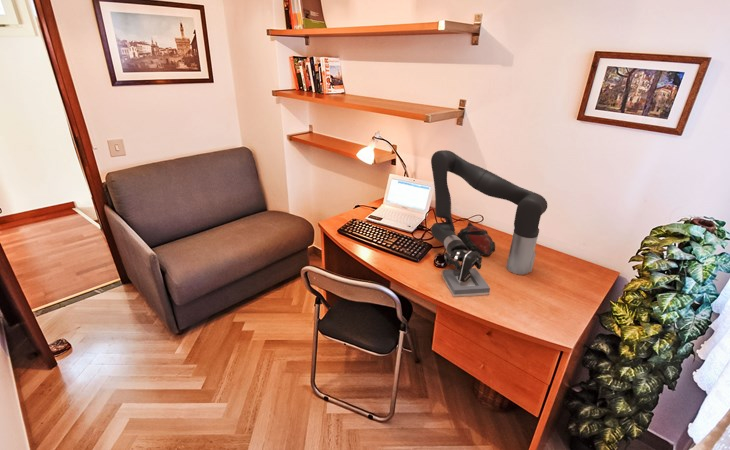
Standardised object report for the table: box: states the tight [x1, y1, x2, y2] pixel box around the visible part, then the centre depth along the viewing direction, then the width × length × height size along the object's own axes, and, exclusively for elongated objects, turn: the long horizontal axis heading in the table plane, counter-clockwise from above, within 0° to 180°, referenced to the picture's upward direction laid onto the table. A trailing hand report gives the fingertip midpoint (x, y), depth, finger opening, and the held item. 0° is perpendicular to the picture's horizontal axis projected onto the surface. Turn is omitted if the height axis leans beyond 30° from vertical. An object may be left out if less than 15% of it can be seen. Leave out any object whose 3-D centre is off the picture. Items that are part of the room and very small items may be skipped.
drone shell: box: [456, 221, 496, 256], centre depth 175 cm, size 21×20×8 cm
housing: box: [441, 267, 491, 298], centre depth 144 cm, size 14×14×3 cm
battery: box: [458, 250, 477, 282], centre depth 141 cm, size 7×4×11 cm, turn 142°
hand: (469, 267), depth 139 cm, fingers open, 7 cm apart
